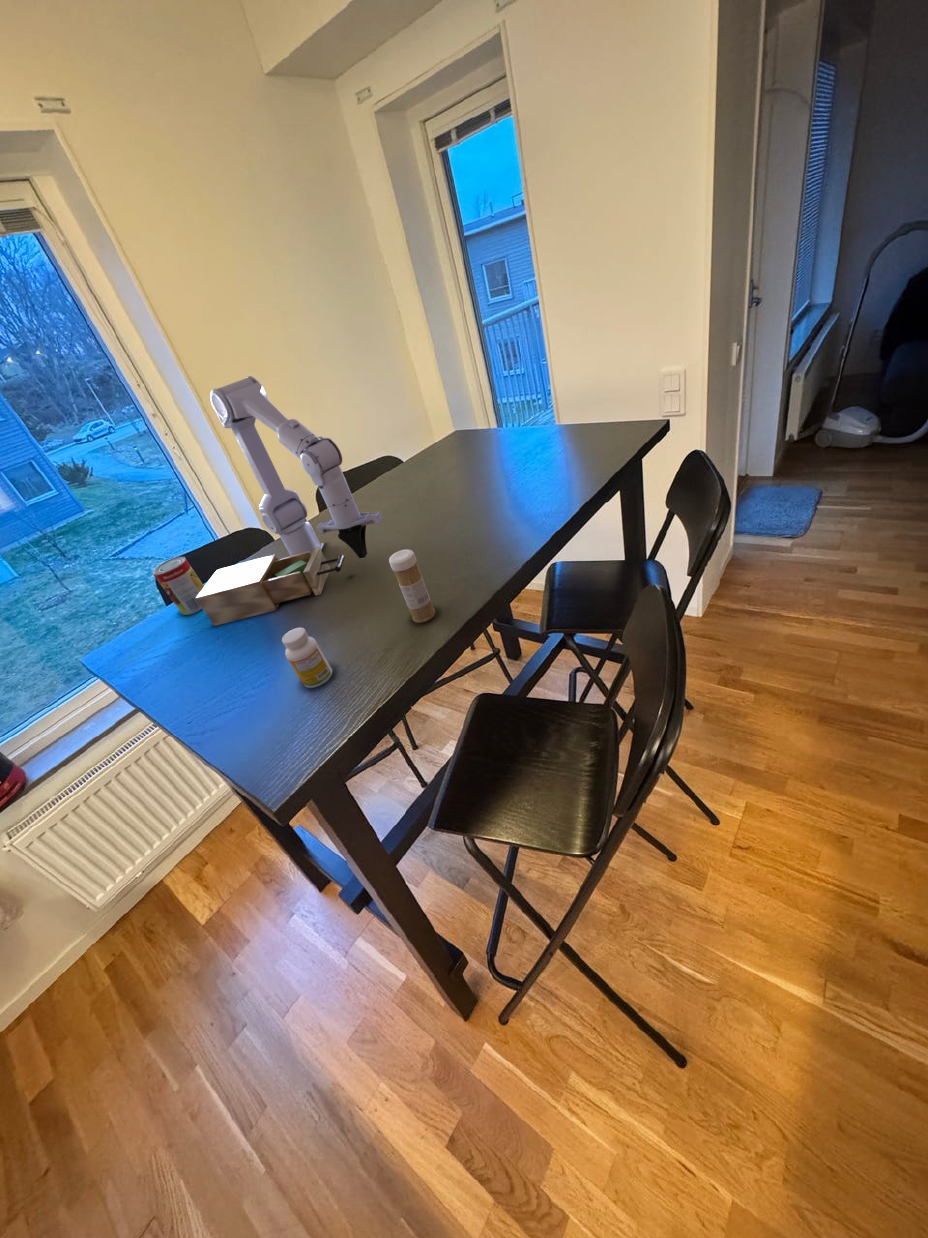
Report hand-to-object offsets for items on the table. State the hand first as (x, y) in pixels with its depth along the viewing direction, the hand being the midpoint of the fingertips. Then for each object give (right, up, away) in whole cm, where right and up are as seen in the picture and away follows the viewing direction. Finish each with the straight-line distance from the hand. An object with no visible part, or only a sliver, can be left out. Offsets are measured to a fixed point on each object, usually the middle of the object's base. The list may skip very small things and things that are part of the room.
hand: (363, 555), depth 109 cm
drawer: (-14, -6, +4) cm, 16 cm away
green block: (-16, -6, +3) cm, 17 cm away
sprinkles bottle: (+15, -14, -18) cm, 27 cm away
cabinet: (-27, -10, +6) cm, 30 cm away
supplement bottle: (-3, -25, -25) cm, 35 cm away
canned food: (-45, -11, +13) cm, 48 cm away
